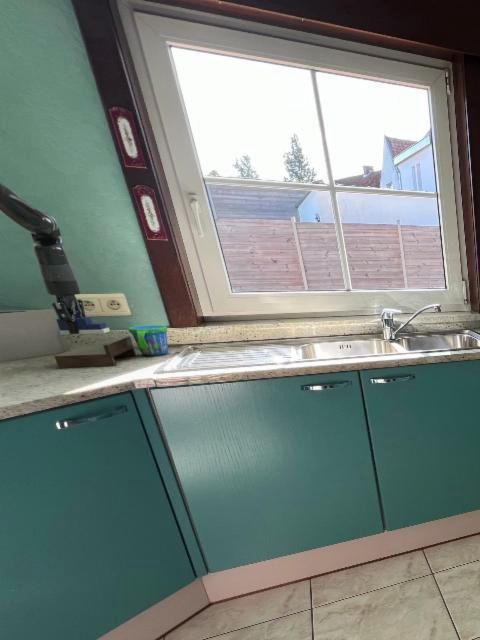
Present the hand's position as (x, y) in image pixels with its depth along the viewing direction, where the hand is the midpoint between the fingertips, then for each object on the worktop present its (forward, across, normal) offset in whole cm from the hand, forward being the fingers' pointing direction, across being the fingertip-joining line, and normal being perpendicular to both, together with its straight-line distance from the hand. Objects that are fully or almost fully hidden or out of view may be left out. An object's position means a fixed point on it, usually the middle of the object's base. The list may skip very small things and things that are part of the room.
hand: (78, 332), depth 164 cm
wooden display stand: (+10, -3, +2) cm, 11 cm away
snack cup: (+11, -13, +15) cm, 22 cm away
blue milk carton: (0, 0, +2) cm, 2 cm away
